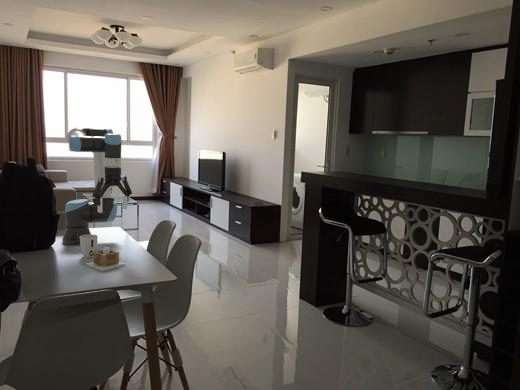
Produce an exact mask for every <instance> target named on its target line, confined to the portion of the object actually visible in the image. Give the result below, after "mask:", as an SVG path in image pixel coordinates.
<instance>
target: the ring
mask: <svg viewBox="0 0 520 390" xmlns="http://www.w3.org/2000/svg"><path fill="white" fill-rule="evenodd" d="M92 258H93V259H92V260H93V261H92V262H93V263H95V264H98V265H101V266H108V265H112V264H116V263H119V261H120V251H117V250H114V249H110V248H109V253H108V254H103V249H102V250H98V251H97V250H96V252H93V257H92Z"/></svg>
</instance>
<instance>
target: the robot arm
mask: <svg viewBox="0 0 520 390" xmlns="http://www.w3.org/2000/svg"><path fill="white" fill-rule="evenodd" d="M66 136H67V137H66V139H67V142H68V150H69V151H70V152H74V153H80V152H81V153H92V154H93V172H94V173H93V174H94V175H93V178H94V180H93V181H94V190H93V193H92V195H91V197H92V200H91V201H89V199H87V198H83V199H81V198H80V199H73V200H69V201H68V202H66V203H65V209H64V213H65V229H64V233H63V236H62V239H61V241H62V244H64V245H66V246H69V245H70V246H80V236H82V235H92V233H91V231H90V226H89V225H90V224H93V223H94V224H95V223H111V222H114V221H115V220H116V217H117V213H118V201H116V200H115V197H114V196H113V195H112V188H111V187H117V188H118V189H119V190H120V191H121V193H122V194H123V195H122V209H123V210H128V203H129V197H130V196H131V195H132V194H133V191H132V190H131V189H132V188H131V187H130V184H129V181H128V180H127V179H128V178H127V176H126V175H122V167H121V166H122V135H121V134H119V133H114V131H113V129H112V128H111V127H105V126H101V127H100V126H78V127H74V128H72V129H70V130H69V131H68V133H67V135H66Z"/></svg>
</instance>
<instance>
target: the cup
mask: <svg viewBox="0 0 520 390" xmlns="http://www.w3.org/2000/svg"><path fill="white" fill-rule="evenodd" d="M79 246H80V250H81V253H82V256H83V258H93V252H97V248H98V235H97V234H91V235H82V236H80V245H79Z"/></svg>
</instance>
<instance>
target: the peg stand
mask: <svg viewBox="0 0 520 390" xmlns="http://www.w3.org/2000/svg"><path fill="white" fill-rule="evenodd" d="M109 249H110V246H109V247H108V246H107V247H106V246H104V247H102V250H103V254H108V253H109ZM86 266H88V267H90V268H93V269H95V270H98V271H101V272H105V271H108V270H112V269H117V268H120V267H121V268H122V267H125V266H126V262H123V261H120V260H119V263H116V264H112V265H108V266H101V265H98V264H95V263H93V261H91V262H88V263H86Z"/></svg>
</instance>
